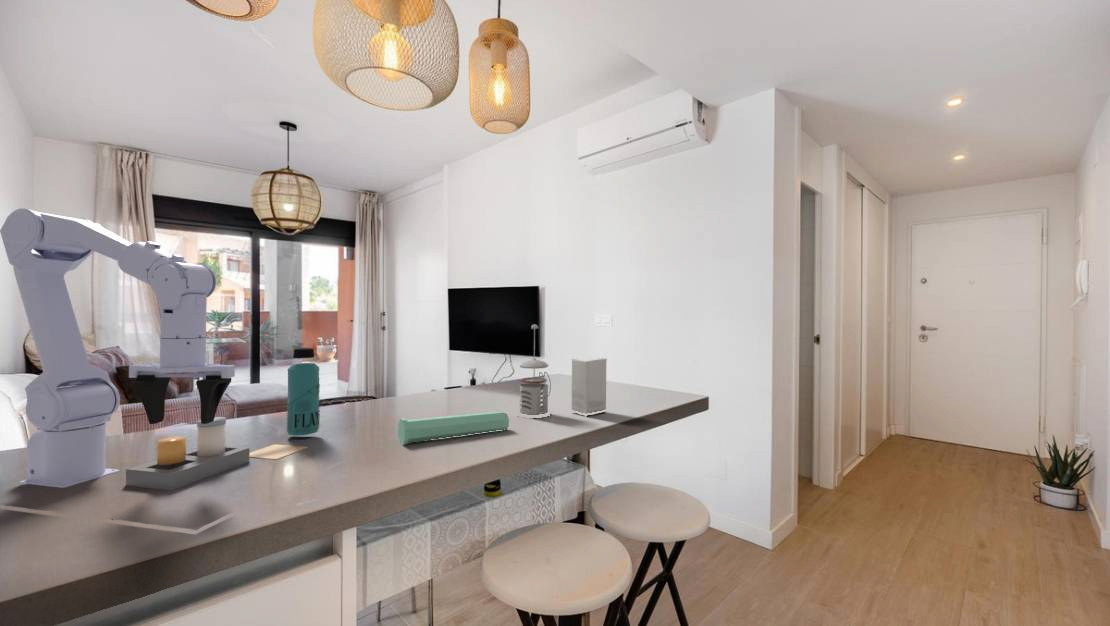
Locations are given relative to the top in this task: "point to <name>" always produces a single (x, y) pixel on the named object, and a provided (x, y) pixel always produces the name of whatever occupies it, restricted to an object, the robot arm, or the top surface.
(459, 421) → the container
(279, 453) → the mat
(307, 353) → the beverage bottle
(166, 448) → the orange cylinder
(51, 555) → the top surface
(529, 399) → the french press
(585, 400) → the skincare box
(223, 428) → the cartridge
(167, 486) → the housing
